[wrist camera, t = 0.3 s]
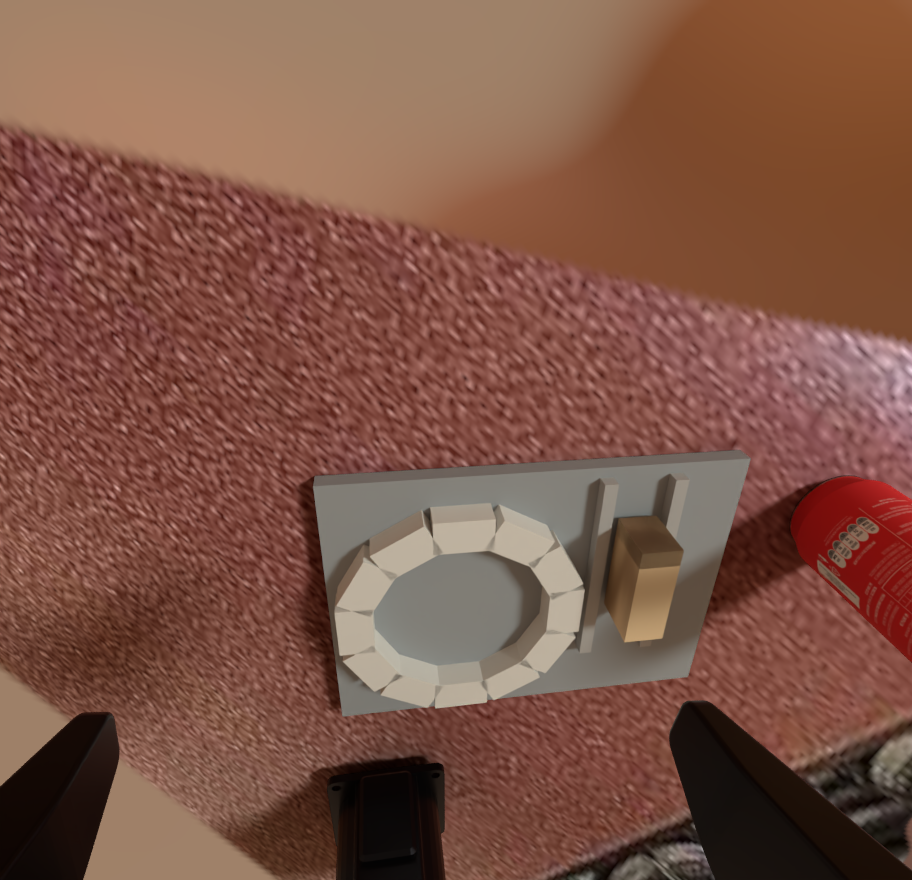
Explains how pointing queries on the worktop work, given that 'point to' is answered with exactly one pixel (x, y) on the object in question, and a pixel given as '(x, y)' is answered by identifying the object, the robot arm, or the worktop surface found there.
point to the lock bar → (642, 577)
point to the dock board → (510, 575)
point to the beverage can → (862, 549)
